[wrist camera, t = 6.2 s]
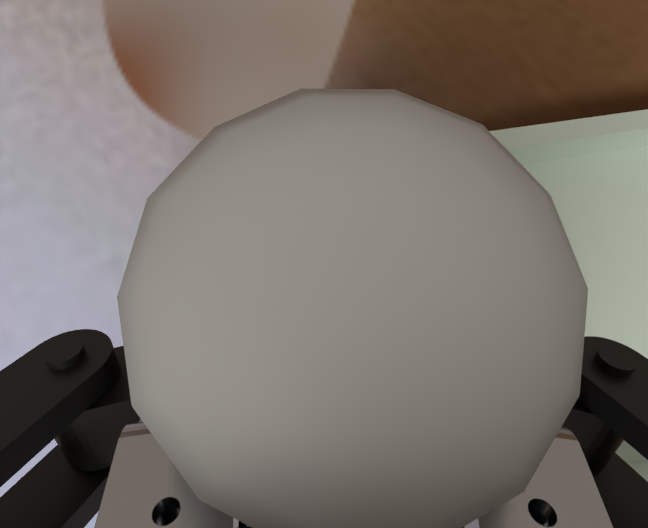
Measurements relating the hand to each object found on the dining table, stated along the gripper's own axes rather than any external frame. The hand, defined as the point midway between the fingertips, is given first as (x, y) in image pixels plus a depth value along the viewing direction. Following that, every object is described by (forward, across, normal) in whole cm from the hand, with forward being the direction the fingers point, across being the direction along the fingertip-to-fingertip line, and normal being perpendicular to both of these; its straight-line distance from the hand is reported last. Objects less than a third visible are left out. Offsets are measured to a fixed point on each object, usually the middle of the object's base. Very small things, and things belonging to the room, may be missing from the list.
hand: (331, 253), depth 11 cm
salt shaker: (+3, 0, +6) cm, 6 cm away
